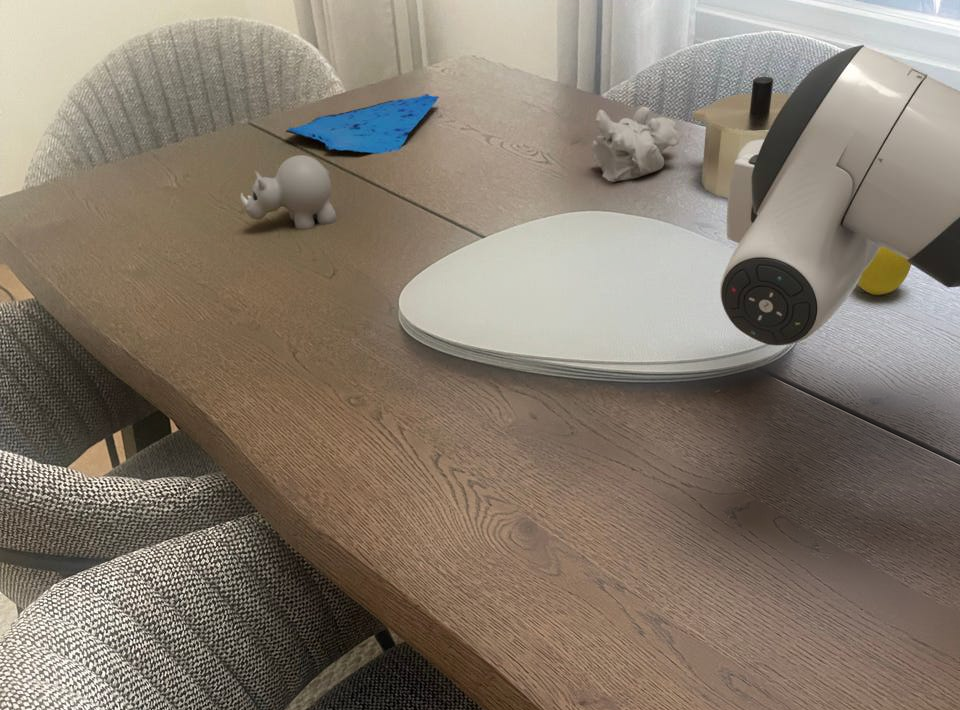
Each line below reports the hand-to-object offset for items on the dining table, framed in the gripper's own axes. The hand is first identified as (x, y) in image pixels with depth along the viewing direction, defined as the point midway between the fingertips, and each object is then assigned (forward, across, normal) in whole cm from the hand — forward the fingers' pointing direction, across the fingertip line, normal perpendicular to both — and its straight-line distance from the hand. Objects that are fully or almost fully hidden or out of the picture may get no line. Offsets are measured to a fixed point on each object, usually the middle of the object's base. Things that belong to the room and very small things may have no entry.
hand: (882, 152), depth 84 cm
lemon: (+12, 0, +19) cm, 23 cm away
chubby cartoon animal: (+4, +74, +20) cm, 77 cm away
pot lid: (+36, +22, +10) cm, 44 cm away
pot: (+36, +22, +19) cm, 47 cm away
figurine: (+35, +38, +19) cm, 55 cm away
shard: (+37, +86, +19) cm, 96 cm away
